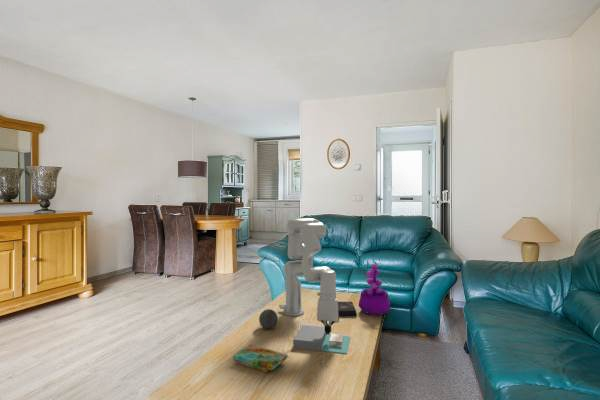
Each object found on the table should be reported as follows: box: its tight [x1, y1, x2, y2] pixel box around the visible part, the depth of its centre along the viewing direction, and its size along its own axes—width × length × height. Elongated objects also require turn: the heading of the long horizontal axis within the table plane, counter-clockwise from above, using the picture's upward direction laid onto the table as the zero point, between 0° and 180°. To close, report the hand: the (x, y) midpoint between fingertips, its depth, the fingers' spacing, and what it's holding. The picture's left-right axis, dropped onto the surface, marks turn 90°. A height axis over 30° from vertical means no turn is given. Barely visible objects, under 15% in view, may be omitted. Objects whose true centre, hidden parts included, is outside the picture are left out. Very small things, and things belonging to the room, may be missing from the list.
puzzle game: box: [232, 344, 289, 373], centre depth 141 cm, size 12×5×20 cm
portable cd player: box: [338, 301, 358, 318], centre depth 203 cm, size 16×17×4 cm
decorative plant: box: [358, 263, 391, 316], centre depth 201 cm, size 19×18×30 cm
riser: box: [292, 324, 327, 352], centre depth 162 cm, size 13×18×4 cm
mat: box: [320, 333, 351, 355], centre depth 159 cm, size 12×18×1 cm, turn 166°
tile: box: [329, 333, 345, 347], centre depth 159 cm, size 6×8×2 cm
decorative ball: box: [258, 308, 279, 330], centre depth 178 cm, size 10×10×10 cm
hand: (327, 333), depth 160 cm, fingers closed
